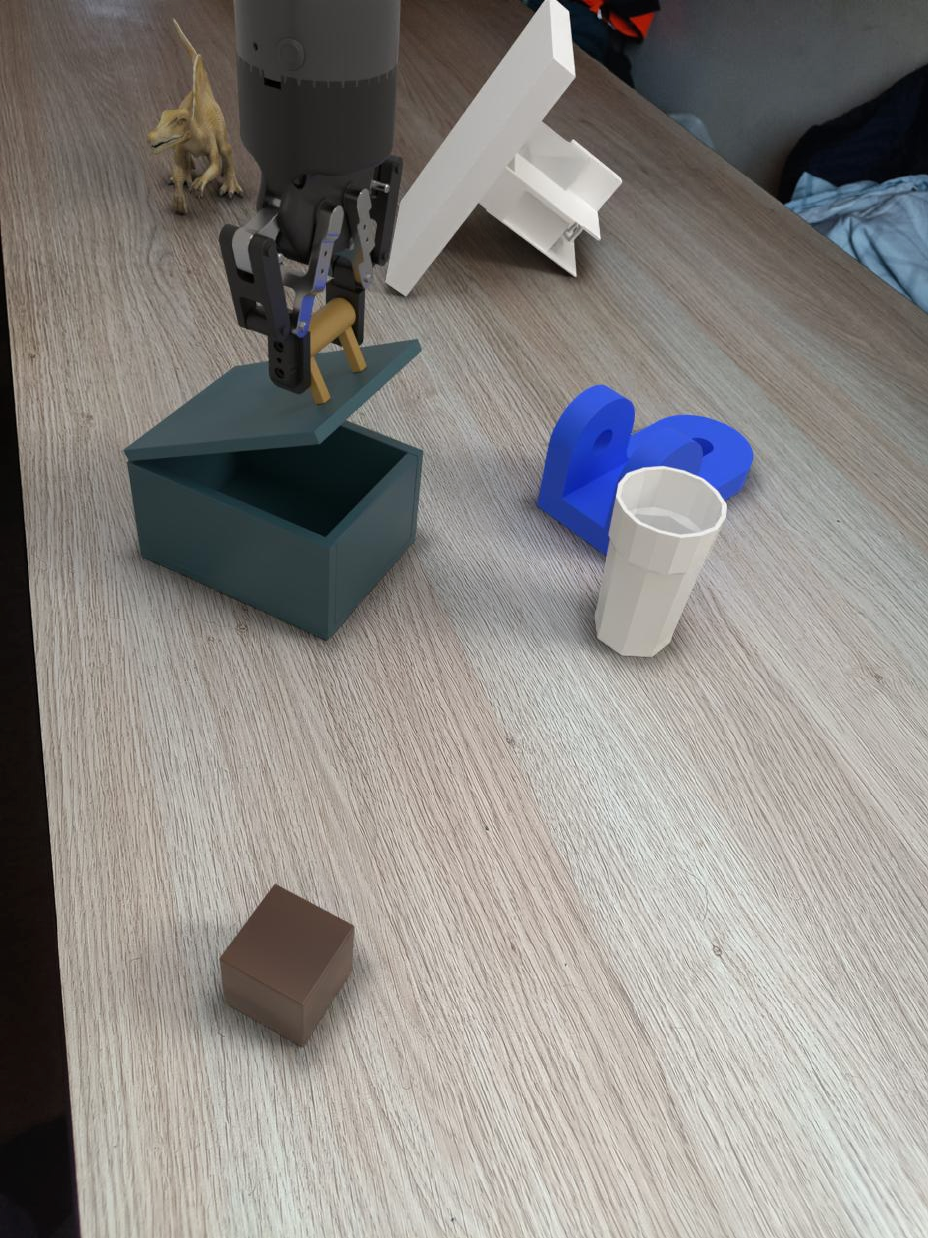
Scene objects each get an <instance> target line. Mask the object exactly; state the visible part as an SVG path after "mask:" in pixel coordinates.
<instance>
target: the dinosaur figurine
mask: <svg viewBox="0 0 928 1238" xmlns="http://www.w3.org/2000/svg"><path fill="white" fill-rule="evenodd" d="M171 19H172V22H173V25H174V28H175V30H176V32H177V35H178V37H179V39H180V41H181V43H182V44H183V47H184V48H185V51H186V53H187V54H188V56H189V59H190V62H191V65H192V85H191V90H190V91H189V93H188V94H187V95H186V96H185V97H184V99H183V100H182V101H181V102H180V105H179V107H178V109H169V108H166V109H165V110H164V111H162V113H161V118H160V120H159V123H158V124H157V125H156V126H155V127H154V128H152V129H151V130H149V131H148V132H147V134H146V138H145V139H146V143H147V144H148V145H150V147H149V153H151V154H152V155H159V154H161V153H162V152H163V151H165V150H168V149H170V148H173V149H174V151H173V159H174V161H173V164H172V167H171V169H172V176H170V178H169V180H168V185H171V184H174V193H173V197H172V198H173V199H172V206H173V207H172V208H173V210H174V211H176V212H177V211H178V212H179V213H181V214H182V213H183V214H185V215H187V214H189V213H188V212H189V210H188V203H187V196H186V193H185V192H184V191H185V190H184V184H185V183H186V185H187V187H188V193H189V194H190V195H192V194H193V197H194V199H198V196H199V199H200V200H203V197H204V189H205V187H206V186H207V183H209V182H211V181H213V180H215V179H216V177H218V176H219V174H220V177H221V178H223V182H222V185H221V186H220V187H219V195H220V196H223V195H225V194H226V193H227V195H228V197H229V199H233V198H234V195H235V194H236V195H238V196H239V197H241V198H243V196H244V191H243V189H242V187H241V186H240V184H239V182H238V181H237V180H238V179H237V178H236V173H235V172H236V171H235V159H234V156H233V148H232V146H231V145H230V144H229V143H227V127H226V126H227V125H226V121H225V116H224V114H223V112H222V108H221V107H220V105H219V104H218V102H217V100H215V97H214V94H213V91H212V88H211V84H210V80H209V78H208V74H207V71H206V69H205V65H204V60H203V57H202V55H201V54H200V53H197V52H196V49H195V48H194V47H193V45H192V43H191V42H190V41H189V39H188V38H187V37H186V35H185V33H184V32H183V31H182V28H181V27H180V25H179V23H178V22H177V20H176V19H175V18H174V17H172V18H171ZM201 156H202V157H206V159H207V162H208V163H209V166H208V167H207V168H206V169H205V171H204V172H203V173H202V174H201V176H198V177H196V178H194V180H193V178H192V177H193V176H192V170H194V171H195V170H196V169H197V167H196V163H195V161H194V159H199V158H200V157H201ZM193 158H194V159H193ZM220 158H221V169H220Z"/></svg>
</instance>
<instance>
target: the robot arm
mask: <svg viewBox="0 0 928 1238" xmlns="http://www.w3.org/2000/svg"><path fill="white" fill-rule="evenodd" d="M401 1H402V0H233V3H232V4H233V19H234V20H233V21H234V38H235V59H236V77H237V79H236V80H237V81H236V82H237V98H238V118H239V119H238V120H239V135H240V141H241V142H242V145H243V147H244V149H245V150H246V151H247V152H248V153H249V154H250V155H251V157H252V158H253V159H254V161H255V163H256V164H257V166H258V168H259V170H260V183H259V189H258V193H257V198H256V206H255V210H256V214H254V215H253V216H252V217H251V219H249V221H248V222H247V223H246V224H245V225H244V226H241V227H240V226H237V225H235V224H231V223H226V224H224V225H223V227H222V228H221V230H220V232H219V236H218V244H219V248H220V252H221V258H222V261H223V266H224V269H225V274H226V278H227V282H228V286H229V291H230V296H231V299H232V304H233V308H234V313H235V316H236V319H237V320H236V321H237V324H238V326H239V327H240V328H242V329H244V330H247V331H252V332H256V333H258V334H261V335H264V336H265V337H267V358H268V360H267V361H268V363H269V376H270V379H271V381H272V382H273V383H274V384H275V385H276V386H278V387H280V388H283V389H285V390H288V391H290V392H293V393H296V394H302V393H303V392H304V391H306V390H307V389H308V388H309V387H310V385H311V338H310V331H308V328H309V324H310V319H311V315H312V314H313V308H314V303H315V299H316V298H315V297H316V295H318V294H321V293H323V292H324V291H325V305H326V304H327V303H328V302H330V301H331V300H332V299H334V298H337V297H340V298H344V299H346V300H347V301H349V302H350V303H351V305H352V306H353V308H354V310H355V314H356V319H355V322H354V324H353V325H352V326H351V327H352V330H353V332H354V335H355V337H356V340H357V343H358V345H359V347H361V345H363V343H364V342H365V341H364V339H365V311H366V310H365V309H366V308H365V307H366V290H367V289H369V287H370V286H371V285H372V283H373V279H374V268H375V266H376V265H377V266H380V267H384V266H385V265H386V264H387V263H388V260H389V259H390V254H391V248H392V241H393V233H394V229H395V227H394V226H395V222H396V221H395V220H396V213H397V207H398V201H399V196H400V189H401V182H402V176H403V168H404V160H403V158H402V157H401V156H399V155H395V154H392V153H393V150H394V148H395V147H394V146H395V138H396V135H395V133H396V115H397V96H398V95H397V93H398V74H399V73H398V71H399V53H400V51H399V50H400V33H401V32H400V29H401V9H402V6H401V5H402V2H401ZM371 220H373V221H375V224H376V228H375V235H374V230H373V226H372V221H371ZM284 258H285V259H288V260H290V261H292V262H296V263H298V264H302V265H305V266H308V268H307V271H306V272H302V271H300V270H298V269H295V268H291V267H289V266H286V265H285V264H284V262H283V261H284ZM329 277H330V278H331V279H329V280H328V278H329ZM285 287H287V288H290V289H292V290H293V292H294V302H293V305H292V309H291V308H288V303H287V299H286V298H287V297H286V291H285ZM258 304H259V305H258ZM330 344H333V345H336V346H339V347H341V348H343V347H342V345H341V342H340V340H339V337H337V338H336V339H334V340H333V341H332V342H331V343H330Z"/></svg>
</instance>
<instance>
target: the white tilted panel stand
mask: <svg viewBox="0 0 928 1238" xmlns="http://www.w3.org/2000/svg"><path fill="white" fill-rule="evenodd" d="M570 18H571V17H570V11H569V10H568V9H567V8H566V7H565V6H564V5H562V3H560V2H559V1H558V0H544V1H543V2H542V3H541V5H540V6H539V8H538V9H537V11H536V12H534V15H533V16H532V18H530V20H529V22H528V23H527V25H526V26H525V27H524V28H523V30H522V31H521V33H520V34H519V36H518V37H517V38H516V40H515V41H514V43H513V44H512V45H511V47H510V48H509V49H508V51H507V52H506V54H505V55H504V57H503V58H502V60H501V61H500V62H499V64H498V65H497V67H495V69H494V71H493V72H492V74H491V75H490V76H489V77H488V79H487V81H485V83H484V84H483V86H482V87H481V89H480V90H479V92H478V93H477V94H476V96H475V97H474V98H473V100H472V101H471V103H470V104H469V105H468V107H467V108H466V110H465V111H464V112H463V114H462V115H461V116H460V118H459V119H458V121H457V122H456V123H455V125H454V126H453V128H452V129H451V130H450V132H449V133H448V135H447V136H446V138H445V139H444V140H443V142H442V143H441V145H439V147H438V149H437V150H436V152H435V153H434V154H433V155H432V157H431V159H430V160H429V161H428V162H427V164H426V165H425V167H424V168H423V169H422V171H421V172H420V174H419V175H418V177H417V178H416V179H415V180H414V182H413V184H411V186H410V187H409V189H408V190H407V192H406V193H405V194H404V196H403V198H402V199H401V200H400V202H399V207H398V212H397V216H396V217H397V218H396V223H395V227H394V232H393V233H394V235H393V237H392V243H391V248H390V253H389V259H388V260H389V261H388V265H387V271H386V276H385V282H384V283H386V284H387V285H388V286H390V287H392V288H393V289H394V290H396V292H399V293H400V294H401V295H403V296H404V297H407V296H408V295H409V294H410V292H411V291H412V290H413V289H414V288H415V286H416V285H417V283H418V282H419V280H421V278H422V277H423V276H424V274H425V273H426V271H427V270H428V269H429V267H430V266H431V265H433V264H432V263H433V262H434V261H435V260H436V258H437V257H439V255H440V254H441V252H442V251H443V250H444V248H445V247H446V246H447V244H448V243H449V242H450V241H451V240H452V238H453V237H454V235H455V234H456V233H457V232H458V230H459V229H460V227H461V226H462V225H463V224H464V222H465V221H466V220H467V218H469V216H470V215H471V214H472V212H473V211H474V209H475V208H476V207H477V205H480V206H482V207H483V208H484V209H485V211H486V212H487V213H489V214H490V215H492V217H494V218H495V219H497V220H498V221H500V222H501V223H502V224H503V225H505V226H506V227H508V229H510V230H511V231H513V232H514V233H516V234H517V235H518V236H519V237H521V238H522V239H524V240H525V241H526V242H527V243H528V244H530V245H531V246H532V247H534V248H535V249H537V250H538V251H539V252H540V253H542V254H543V255H545V256H546V257H547V258H549V259H550V260H551V261H552V262H554V263H555V264H556V265H558V266H559V267H560V268H562V269H563V270H565V272H567V273H569V274H570V275H572V277H574V278H575V279H576V278H577V276H578V275H577V266H576V265H577V264H576V252H575V240H576V239H577V237H579V235H581V233H582V232H583V231H585V232H586V233H587V234H589V235H590V236H591V237H593V238H594V239H595V240H596V241H598V242H600V241H601V239H602V237H601V230H600V221H599V213H598V212H599V211H600V209H601V208H602V207H603V206H604V205H605V203H606V202H608V200H609V199H610V198H611V196H612V195H613V194H614V193H615V192H616V191H617V189H618V188H620V186H621V185H622V184H623V179H622V178H621V177H620V176H619V175H618V174H617V173H615V172H614V171H613V170H612V169H611V168H609V167H608V166H606V164H604V163H603V162H602V161H600V160H599V159H598V157H595V155H593V154H592V153H591V152H590V151H588V149H586V148H585V147H583V146H582V145H581V144H580V143H579V142H577V141H576V140H575V139H571V140H570V142H569V141H568V140H566V139H565V138H563V137H562V136H561V135H559V134H558V133H557V132H556V131H555V130H554V129H552V128H551V127H550V126H549V125H547V123H545V122H543V121H544V119H545V117H546V116H547V115H548V114H549V112H550V111H551V109H552V108H553V107H554V106H555V105H556V104H557V102H558V101H559V100H560V98H561V97H562V95H563V94H564V93H565V92H566V90H567V89H568V88H569V86H570V85H571V84H572V82H573V81H574V80H575V79H576V67H575V57H574V48H573V47H574V46H573V38H572V27H571V19H570Z"/></svg>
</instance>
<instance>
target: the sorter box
mask: <svg viewBox="0 0 928 1238" xmlns="http://www.w3.org/2000/svg"><path fill="white" fill-rule="evenodd" d="M423 461H424V449H421V448H419V447H416V446H413V445H410V444H408V443H406V442H404V441H401V440H398V439H396V438H393V437H391V436H388V435H385V434H383V433H381V432H377V431H375V430H373V429H370V428H368V427H365V426H363V425H360V424H357V423H355V422H352V421H350V420H348V419H347V420H346V421H344V422H343V423H342V424H341V425H340V426H339V427H338V428H337V429H336V430H335V431H334V432H332V433H331V434H330V435H329V436H328V437H327V438H326V439H325V440H324V441H323V442H321V443H320V444H317V445H305V446H294V447H283V448H271V449H260V450H249V451H238V452H226V453H215V454H204V455H192V456H181V457H170V458H159V459H147V460H136V461H128V460H127V461H126V467H127V474H128V479H129V480H128V481H129V486H130V492H131V493H130V494H131V499H132V500H131V501H132V507H133V514H134V520H135V526H136V533H137V534H136V535H137V541H138V546H139V553H140V556H141V557H143V558H145V559H147V560H149V561H152V562H154V563H156V564H159V565H161V566H163V567H165V568H167V569H169V570H172V571H173V572H176V573H178V574H180V575H182V576H185V577H187V578H189V579H191V580H194V581H196V582H198V583H200V584H202V585H205V586H206V587H209V588H211V589H213V590H216V591H218V592H220V593H221V594H224V595H226V596H228V597H230V598H233V599H235V600H237V601H239V602H241V603H244V604H246V605H248V606H250V607H253V608H254V609H256V610H259V611H261V612H263V613H265V614H268V615H270V616H272V617H274V618H277V619H279V620H281V621H283V622H285V623H287V624H289V625H292V626H294V627H296V628H298V629H301V630H302V631H304V632H307V633H310V634H312V635H314V636H316V637H318V638H319V639H320V638H321V639H323V640H325V641H329V640H330V639H331V638H332V637H333V635H335V633H336V632H337V631H338V630H339V629H340V627H341V626H342V625H344V622H346V620H347V619H348V618H349V617H350V616H351V615H352V614H353V612H354V611H355V610H356V608H358V607H359V606H360V604H361V603H362V602H363V601H364V600H365V598H366V597H368V595H369V594H370V593H371V592H372V591H373V590H374V588H375V587H376V586H377V584H378V583H379V582H380V581H382V579H383V578H384V577H385V576H386V574H387V573H388V572H389V571H390V569H392V567H394V565H395V564H396V563H397V562H398V561H399V560H400V558H401V557H402V556H403V555H404V554H405V553H406V551H407V550H408V549H409V548H410V547H411V545H412V544H413V543H414V542H415V541H416V536H417V535H416V534H417V526H418V516H419V515H418V513H419V504H420V492H421V483H422V474H423V473H422V471H423V463H424V462H423Z"/></svg>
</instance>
